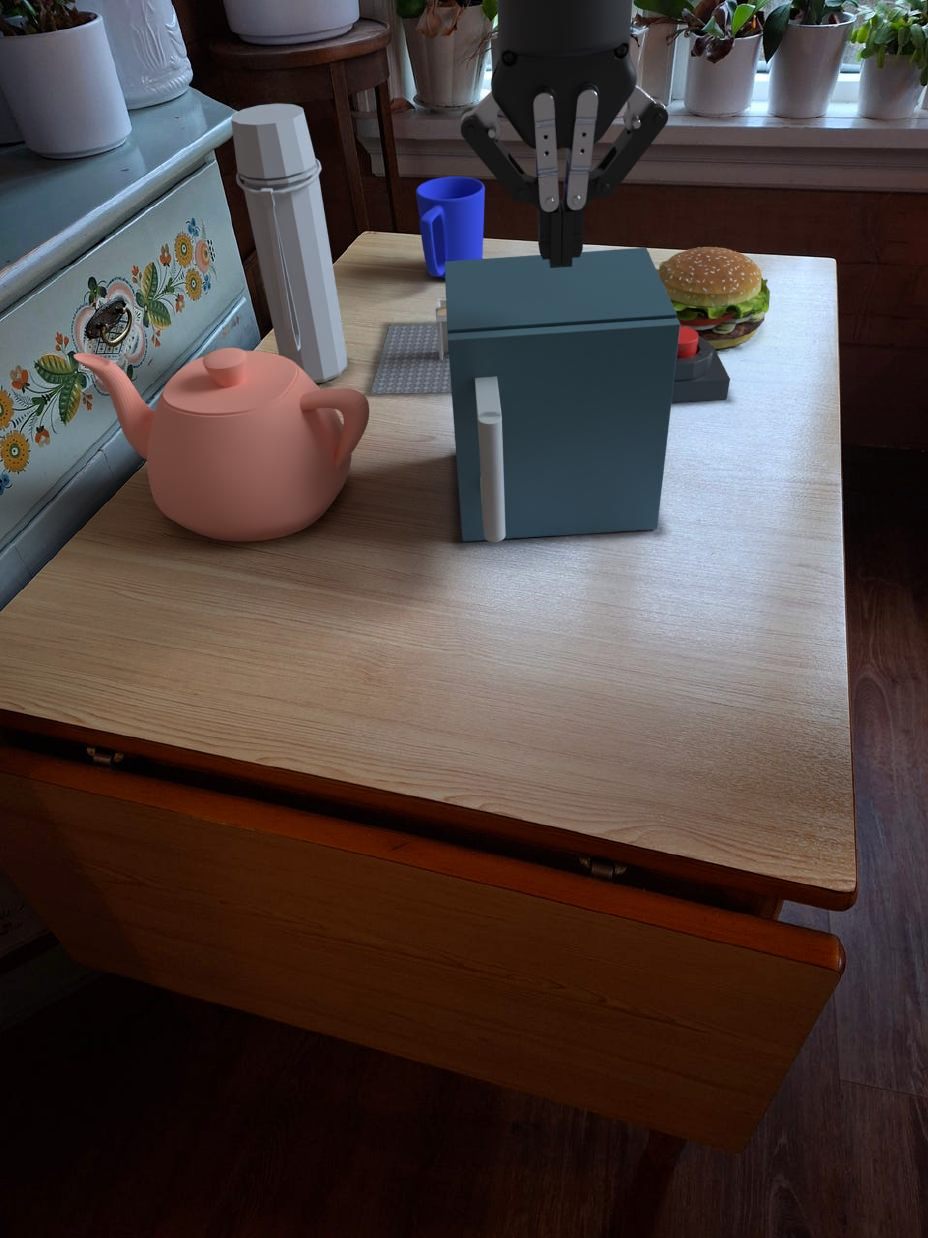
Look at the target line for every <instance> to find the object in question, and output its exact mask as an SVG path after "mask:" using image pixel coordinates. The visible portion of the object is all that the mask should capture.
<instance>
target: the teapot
mask: <svg viewBox="0 0 928 1238" xmlns="http://www.w3.org/2000/svg"><path fill="white" fill-rule="evenodd" d="M73 358H74V360H75V361H77V362H78V363H79V364H80V365H82V366H84V368H86V369H87V370H89V371H91V372H92V373H93V374H94V375H95V376H96V377H97V378H98V379H99V380H100V381H101V383H102V384H103V386H104V388H105V389H106V391H107V392H108V394H109V397H110V400H111V402H112V405H113V407H114V411H115V414H116V417H117V421H118V423H119V425H120V428H121V431H122V433H123V435H124V437H125V439H126V440H127V442H128V443H129V445H130V446H131V448H132V449H133V450H134V451H135V452H136V453H138V454H139V456H141V457H142V459H144V460H146V464H147V465H146V467H147V476H148V482H149V486H150V487H149V488H150V491H151V494H152V498H153V501H154V502H155V504H156V506H157V508H159V510H160V511H161V513H163V514H164V515H165V516H166V517H167V518H169V519H170V520H172V522H174V523H177V524H178V525H180V526H181V527H183V528H185V529H187V530H189V531H192V532H194V533H197V534H199V535H200V536H204V537H207V538H211V539H214V540H218V541H219V540H220V541H227V542H242V543H243V542H258V541H267V540H274V539H279V538H283V537H286V536H287V537H288V536H290V535H294V534H295V533H296V534H297V533H298V532H300V531H302V530H305V529H306V528H308V527H309V526H312V525H313V524H315V523H316V522H317V521H318V520H320V518H321V517H322V516H323V515H324V514H325V513H326V512H327V511H328V509H329V508H330V507H331V505H332V504H333V502H334V501H335V500H336V498H337V497H338V495H339V494H340V493H341V491H342V489H343V487H344V485H345V484H346V481H347V479H348V477H349V474H350V470H351V466H352V465H351V464H352V456H353V455H352V454H353V452H354V451H355V450H356V448H357V446H358V445H359V443H360V441H361V440H362V437H363V436H364V433H365V432H366V429H367V427H368V423H369V419H370V403H369V401H368V398H367V397H366V396H365V394H363V393H362V392H361V391H359V390H356V389H353V388H345V387H344V388H343V387H340V388H339V387H337V388H327V389H321V388H320V387H319V386H318V385H317V383H314V381H313V380H312V379H311V378H310V377H309V376H308V375H307V374H306V373H305V372H304V371H303V370H302V369H301V368H300V367H299V366H298V365H297V364H296V363H295V362H293V361H292V360H290V359H288V358H286V357H283V356H280V355H279V354H277V353H273V352H268V351H261V350H244V349H241V348H237V347H223V348H222V347H221V348H218V349H215V350H213V351H211V352H208V353H207V354H206V355H204V356H201V357H198V358H196V359H193V360H191V361H190V362H188V363H186V364H185V365H184V366H183V367H181V368H180V369H178V370H177V371H176V372H175V373H174V374H173V376H171V378H170V379H169V380H168V381H167V383H165V385H164V387H163V388H162V391H161V393H160V396H159V399H158V401H157V404H156V407H155V410H154V409H153V408H151V407H150V406H149V405H148V404H147V403H146V402H145V401H144V399H143V398H142V397H141V396H140V393H139V392H138V390H137V389H136V388H135V385H134V384H133V382H132V381H131V379H130V378H129V377H128V375H127V374H126V373H125V371H123V369H122V368H121V367H119V366H118V365H117V364H116V363H115V362H114V361H112V360H110V359H109V358H106V357H105V356H101V355H98V354H93V353H90V352H89V353H88V352H77V353H75V354H73ZM337 411H339V412H340V413H341V414H342V418H343V421H342V419H341V418H340V415H339V414H338V412H337Z"/></svg>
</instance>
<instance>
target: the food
mask: <svg viewBox="0 0 928 1238" xmlns="http://www.w3.org/2000/svg"><path fill="white" fill-rule="evenodd" d="M656 270H657V272H658V274H659V277H660V279H661V281H662V283H663V285H664V287H665V290H666V292H667V294H668V296H669V298H670V301H671V303H672V305H673V307H674V309H675V311H676V314H677V318H678V321H679V323H680V327H688V328H691V329H693V330H695V331H696V332H697V333H698V336H700V337H701V338H703V339H705V340H707V341H709V342H710V344H711V346H712V345H713V346H714V348H715V350H716V349H725V348H730V347H734V346H735V347H736V346H738V345H740V344H742V343H744V342H745V341H748V340H749V339H751V338H753V337H754V335H755V333H756V332H757V330H758V328H759V327H760V326H761V325H762V324H763V322H764V321H765V316H766V314H767V312H768V311H769V309H770V297H771V291H770V289H769V287H768V286H767V283H768V278H767V279H763V277H762V270H761V269H760V267H759V266H758V265H757V264H756V263H755V262H754V261H753V259H751V258H750V257H748V256H747V255H745V254H744V253H741V252H738V251H735V250H732V249H730V248H725V247H718V246H715V247H713V246H704V247H703V246H702V247H699V246H698V247H694V248H689V249H687V250H683V251H680V252H677V253H675V254H674V255H672V256H671V257H669V258H668V259H667V260H664V261H662V262H661V263H659V266H658V268H656Z"/></svg>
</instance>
